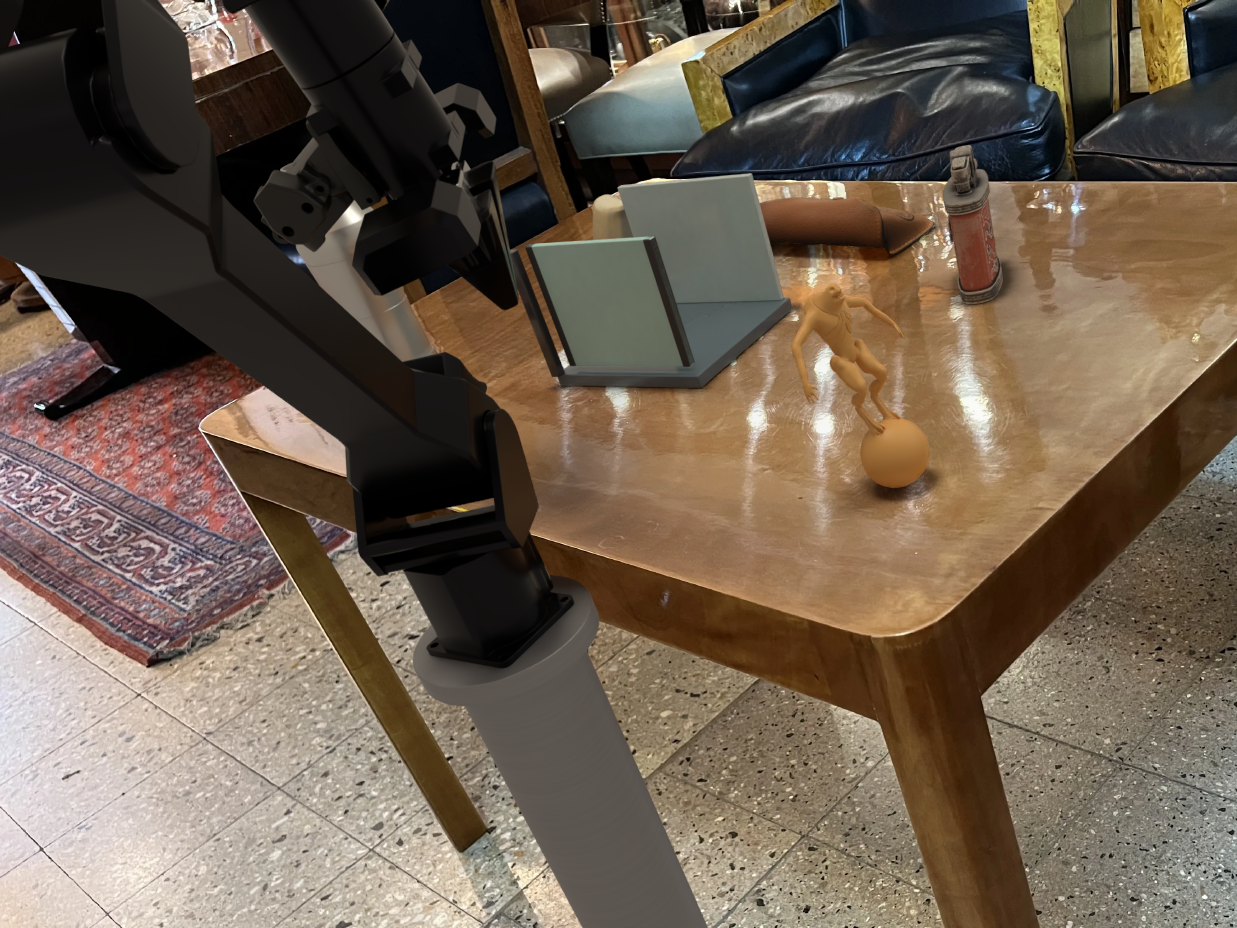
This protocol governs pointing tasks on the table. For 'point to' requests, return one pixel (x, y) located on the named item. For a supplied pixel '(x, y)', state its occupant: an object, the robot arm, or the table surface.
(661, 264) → the shower door
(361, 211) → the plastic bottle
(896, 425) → the figurine
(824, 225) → the sunglasses case
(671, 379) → the shower stall
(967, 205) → the lighter
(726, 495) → the table surface
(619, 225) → the cream rounded block
